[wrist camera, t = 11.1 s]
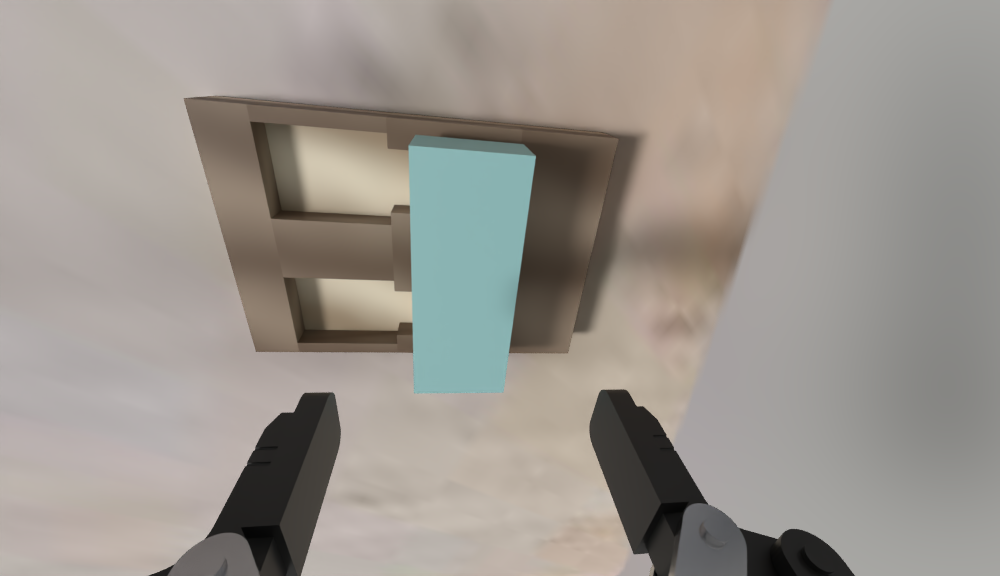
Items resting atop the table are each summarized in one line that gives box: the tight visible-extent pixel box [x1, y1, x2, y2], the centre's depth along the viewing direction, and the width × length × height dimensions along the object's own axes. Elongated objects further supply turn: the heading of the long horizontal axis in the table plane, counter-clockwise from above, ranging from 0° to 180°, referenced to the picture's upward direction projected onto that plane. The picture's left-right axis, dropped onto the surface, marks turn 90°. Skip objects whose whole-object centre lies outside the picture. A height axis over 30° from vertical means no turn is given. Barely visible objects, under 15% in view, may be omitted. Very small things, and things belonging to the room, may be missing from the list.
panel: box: [409, 135, 536, 393], centre depth 20 cm, size 13×5×6 cm, turn 175°
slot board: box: [184, 96, 619, 353], centre depth 22 cm, size 14×20×2 cm
